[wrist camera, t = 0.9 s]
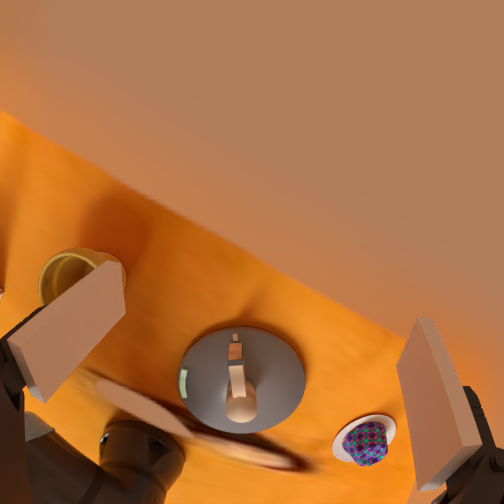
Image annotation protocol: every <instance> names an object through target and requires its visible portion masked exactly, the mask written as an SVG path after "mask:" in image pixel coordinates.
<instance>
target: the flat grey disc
mask: <svg viewBox="0 0 504 504" xmlns="http://www.w3.org/2000/svg"><path fill="white" fill-rule="evenodd" d="M240 342H242V344H243V357H244V367H245V376H246V379H248V380H250V381H251V382H253V383H254V385H255V387H256V399H257V415H256V416H255V418H254V419H252V420H251V421H248V422H244V423H239V422H235V421H232V420H231V419H229V418H228V417H227V415H226V413H225V407H226V393H227V386H228V384H229V383H230V382H231V379H230V372H229V366H228V350H229V343H240ZM178 390H179V393H180V397H181V399H182V401H183V403H184V404H185V406H186V407H187V409H188V410H189V411H190V412H191V413H192V414H193V415H194V416H195V417H196V418H197V419H199V420H200V421H202V422H203V423H205V424H207V425H208V426H210V427H213V428H215V429H218V430H222V431H226V432H231V433H252V432H258V431H262V430H265V429H268V428H271V427H273V426H275V425H277V424H279V423H281V422H282V421H284V420H285V419H286V418H287V417H289V416H290V415H291V414H292V413H293V412H294V410H295V409H296V408H297V406H298V405H299V403H300V401H301V399H302V397H303V394H304V390H305V374H304V370H303V367H302V364H301V361H300V359H299V357H298V355H297V354H296V352H295V350H294V349H293V348H292V347H291V346H290V345H289V344H288V343H287V342H286V341H285V340H283V339H282V338H280V337H279V336H277V335H275V334H273V333H271V332H269V331H266V330H263V329H260V328H255V327H247V326H234V327H226V328H222V329H218V330H216V331H213V332H210V333H208V334H207V335H205V336H203V337H201V338H200V339H199V340H197V341H196V342H195V343H194V344H193V345H192V346H191V347H190V348H189V350H188V351H187V352H186V354H185V356H184V358H183V360H182V363H181V366H180V368H179V372H178Z"/></svg>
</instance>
